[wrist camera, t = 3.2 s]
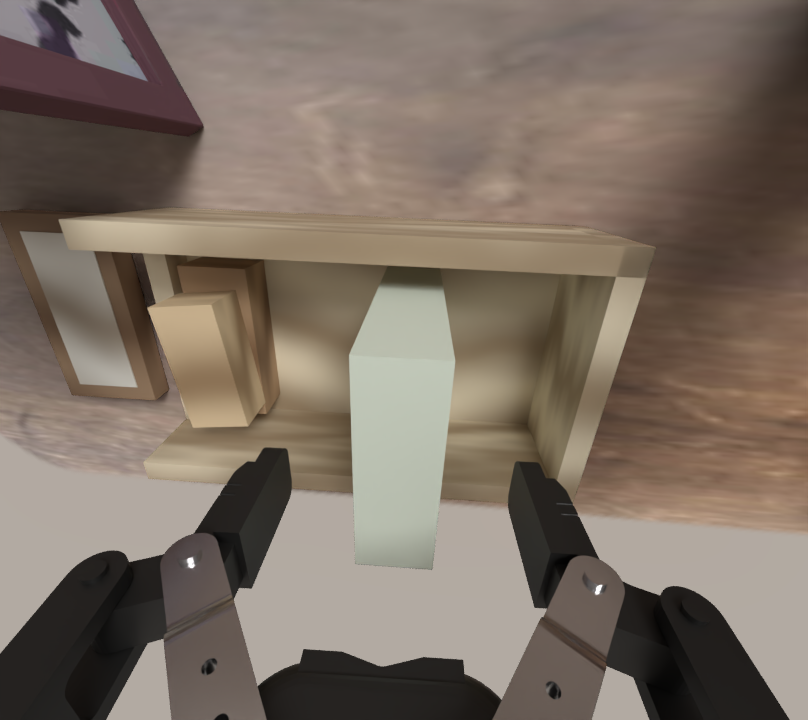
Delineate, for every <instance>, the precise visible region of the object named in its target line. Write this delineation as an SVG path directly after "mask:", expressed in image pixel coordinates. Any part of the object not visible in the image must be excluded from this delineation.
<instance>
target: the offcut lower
mask: <svg viewBox="0 0 808 720" xmlns="http://www.w3.org/2000/svg"><path fill="white" fill-rule="evenodd" d="M177 269H178V273H179V278H180V282H181V287H182V291H183V293H196V292H214V291H233V290H236V294H237V297H238V301H239V305H240V309H241V312H242V316H243V320H244V324H245V327H246V331H247V335H248V338H249V342H250V346H251V350H252V353H253V357H254V361H255V365H256V368H257V372H258V376H259V379H260V383H261V387H262V391H263V394H264V398H265V404H264V405H263V406H262V408H261V409H260V411H259V412H258V414H267V413H268V411H269V410H270V408H271V407H272V405H273V404H274V402H275V401H276V399H277V398H278V396H279V395H280V385H279V377H278V370H277V362H276V354H275V346H274V338H273V330H272V322H271V314H270V306H269V298H268V290H267V282H266V274H265V266H264V260H257V259H237V258H216V257H201V258H198V259H195V260H192V261H189V262H186V263H183V264H181V265H178V266H177Z"/></svg>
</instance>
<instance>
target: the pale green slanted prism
mask: <svg viewBox="0 0 808 720" xmlns="http://www.w3.org/2000/svg"><path fill="white" fill-rule="evenodd" d="M454 369H455V356H454V350H453V344H452V338H451V332H450V326H449V320H448V313H447V307H446V301H445V295H444V289H443V283H442V277H441V271H440V269H438V268H418V267H398V266H387V269H386V271H385V273H384V276H383V278H382V280H381V283H380V285H379V287H378V289H377V292H376V294H375V296H374V299H373V301H372V303H371V306H370V308H369V310H368V313H367V315H366V317H365V319H364V322H363V324H362V326H361V329H360V331H359V333H358V336H357V338H356V340H355V342H354V345H353V347H352V349H351V352H350V354H349V373H350V406H351V440H352V473H353V507H354V541H355V564H361V565H374V566H388V567H402V568H416V569H429V570H432V568H433V559H434V550H435V541H436V532H437V523H438V514H439V505H440V496H441V487H442V478H443V469H444V460H445V450H446V441H447V432H448V423H449V414H450V405H451V396H452V387H453V378H454Z"/></svg>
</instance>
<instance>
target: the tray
mask: <svg viewBox="0 0 808 720" xmlns="http://www.w3.org/2000/svg"><path fill="white" fill-rule="evenodd" d="M58 220H59V223H60V226H61V228H62V231H63V234H64V237H65V240H66V243H67V246H68V249H69V250H88V251H108V252H128V253H143V257H144V261H145V264H146V268H147V272H148V276H149V279H150V283H151V287H152V291H153V295H154V298H155V302H156V304H157V303H159V302H161V301H163V300H165V299H167V298H170V297H172V296H174V295H176V294H178V293H183V291H182V287H181V282H180V278H179V273H178V269H177V266H178V265H181V264H183V263H186V262H189V261H192V260H195V259H198V258H201V257H216V258H237V259H257V260H264V266H265V274H266V282H267V290H268V298H269V306H270V314H271V322H272V330H273V338H274V346H275V354H276V362H277V370H278V377H279V385H280V395H279V396H278V398H277V399H276V401H275V402H274V404H273V405H272V407H271V408H270V410H269V411H268V413H267V414H258V413H257V415H256V416H255V418H254V419H253V420H252V422H251V423H250V424H249V426H244V427H203V428H193V426H192V424H191V421H190V419H189V416H188V413H187V411H186V408H185V405H184V403H183V400H182V398H181V400H182V404H183V408H184V412H185V415H186V420H185V421H184V422H183V423H182V424H181V425H180V426H179V427H178V428H177V429H176V430H175V431H174V432H173V433H172V434H171V435H170V436H169V437H168V438H167V439H166V440H165V441H164V442H163V443H162V444H161V445H160V446H159V447H158V448H157V449H156V450H155V451H154V452H153V453H152V454H151V455H150V456H149V457H148V458H147V459H146V460H145V461H144V462H143V464H144V466H145V469H146V472H147V475H148V478H149V479H160V480H175V481H189V482H204V483H219V484H227V482H228V481H229V479H230V478H231V476H232V475H233V473H234V472H235V471H236V470H237V469H238V468H239V467H241V466H242V465H243V464H244V463H246V462H247V461H253V462H255V461H256V459H257V457H258V456H259V454H260V453H261V451H262V449H263V448H265V447H272V448H286V449H287V450H288V455H289V463H290V470H291V478H292V489H307V490H321V491H336V492H351V493H353V473H352V440H351V406H350V373H349V354H350V352H351V349H352V347H353V345H354V342H355V340H356V338H357V336H358V333H359V331H360V329H361V326H362V324H363V322H364V319H365V317H366V315H367V313H368V310H369V308H370V306H371V303H372V301H373V299H374V296H375V294H376V292H377V289H378V287H379V285H380V283H381V280H382V278H383V276H384V273H385V271H386V269H387V266H398V267H418V268H438V269H440V271H441V277H442V283H443V289H444V295H445V301H446V307H447V313H448V320H449V326H450V332H451V338H452V344H453V350H454V356H455V369H454V378H453V387H452V396H451V405H450V414H449V423H448V432H447V441H446V450H445V460H444V469H443V478H442V487H441V496H440V499H454V500H468V501H483V502H498V503H508V494H509V489H510V484H511V479H512V474H513V469H514V464H515V462H516V461H523V462H538V463H539V464H540V465H541V468H542V470H543V472H544V475H545V477H546V478H553V479H556V480H557V481H558V482H559V483H560V484H561V485H562V486H563V487H564V488H565V489H566V490H567V493H568V495H569V497H570V499H571V501H572V503H573V501H574V498H575V495H576V492H577V489H578V486H579V483H580V480H581V477H582V474H583V471H584V468H585V465H586V462H587V458H588V455H589V452H590V449H591V446H592V443H593V440H594V437H595V434H596V431H597V428H598V425H599V422H600V419H601V416H602V413H603V410H604V406H605V403H606V400H607V397H608V394H609V391H610V388H611V385H612V382H613V379H614V376H615V373H616V370H617V367H618V364H619V361H620V358H621V354H622V351H623V348H624V345H625V342H626V339H627V336H628V333H629V330H630V327H631V324H632V321H633V318H634V315H635V312H636V309H637V306H638V303H639V299H640V296H641V293H642V290H643V287H644V284H645V281H646V278H647V275H648V272H649V269H650V266H651V263H652V260H653V257H654V254H655V251H656V247H653V246H649V245H646V244H643V243H639V242H636V241H633V240H629V239H626V238H622V237H619V236H616V235H612V234H609V233H606V232H602V231H599V230H595V229H592V228H589V227H585V226H564V225H542V224H521V223H499V222H477V221H455V220H433V219H411V218H390V217H368V216H346V215H324V214H302V213H280V212H258V211H237V210H215V209H193V208H171V207H167V208H158V209H148V210H139V211H130V212H121V213H112V214H103V215H94V216H84V217H75V218H66V219H58ZM179 393H180V392H179ZM180 396H181V395H180Z"/></svg>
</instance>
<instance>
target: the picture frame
mask: <svg viewBox="0 0 808 720" xmlns="http://www.w3.org/2000/svg"><path fill="white" fill-rule="evenodd" d="M0 110H6V111H13V112H20V113H27V114H34V115H41V116H48V117H55V118H62V119H69V120H76V121H83V122H90V123H97V124H104V125H111V126H118V127H125V128H132V129H139V130H146V131H153V132H160V133H167V134H174V135H181V136H190V135H192V134H193V133H195V132H197V131H198V130H200V129H201V128H203V124H202V122H201V120H200V118H199V117H198V115H197V113H196V111H195V109H194V108H193V106H192V104H191V102H190V100H189V99H188V97H187V95H186V93H185V92H184V90H183V88H182V86H181V84H180V83H179V81H178V79H177V77H176V75H175V74H174V72H173V70H172V68H171V66H170V65H169V63H168V61H167V59H166V58H165V56H164V54H163V52H162V50H161V49H160V47H159V45H158V43H157V41H156V40H155V38H154V36H153V34H152V32H151V31H150V29H149V27H148V25H147V23H146V22H145V20H144V18H143V16H142V15H141V13H140V11H139V9H138V7H137V6H136V4H135V2H134V0H0Z"/></svg>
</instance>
